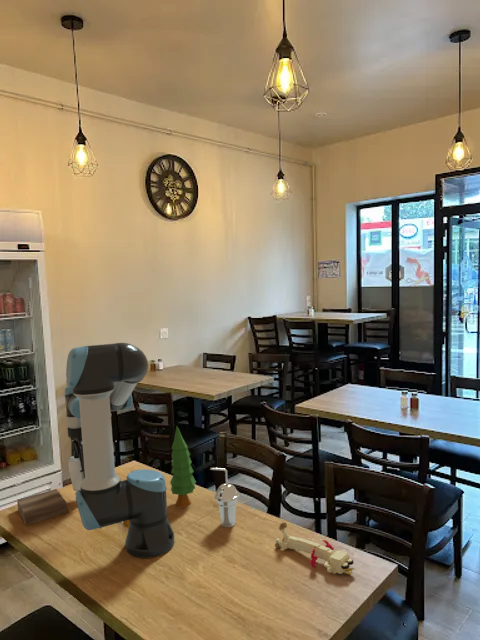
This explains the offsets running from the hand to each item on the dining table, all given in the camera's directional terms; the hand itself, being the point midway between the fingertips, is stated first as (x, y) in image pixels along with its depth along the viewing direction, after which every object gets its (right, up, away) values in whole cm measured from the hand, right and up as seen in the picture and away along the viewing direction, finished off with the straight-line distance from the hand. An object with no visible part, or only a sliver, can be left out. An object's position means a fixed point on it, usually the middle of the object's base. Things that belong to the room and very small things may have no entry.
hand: (82, 483), depth 182 cm
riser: (-12, -8, -8) cm, 16 cm away
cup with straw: (+56, -6, -22) cm, 61 cm away
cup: (0, -2, 0) cm, 2 cm away
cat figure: (+82, -8, -44) cm, 94 cm away
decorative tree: (+40, -6, -5) cm, 41 cm away
